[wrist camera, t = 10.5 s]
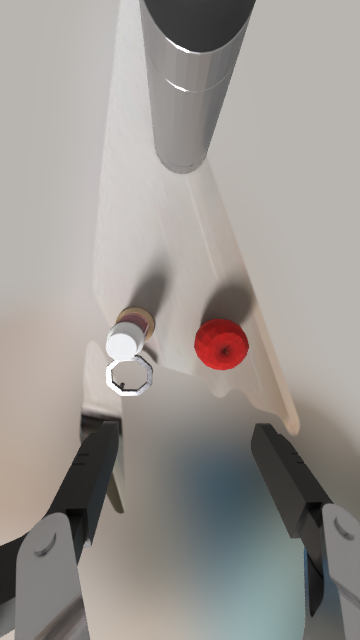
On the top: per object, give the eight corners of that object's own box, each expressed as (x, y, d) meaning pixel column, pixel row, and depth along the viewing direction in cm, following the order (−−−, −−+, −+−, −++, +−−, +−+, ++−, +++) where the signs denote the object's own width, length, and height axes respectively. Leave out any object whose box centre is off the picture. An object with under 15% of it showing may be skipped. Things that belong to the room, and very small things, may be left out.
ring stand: (109, 350, 38) (105, 355, 36) (153, 351, 39) (152, 356, 37) (111, 388, 41) (107, 395, 38) (152, 388, 41) (151, 395, 39)
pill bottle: (115, 315, 36) (93, 333, 25) (144, 308, 36) (134, 323, 25) (125, 342, 37) (108, 370, 27) (152, 335, 37) (146, 360, 27)
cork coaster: (115, 306, 36) (115, 307, 35) (154, 308, 36) (154, 308, 36) (117, 342, 38) (116, 343, 37) (153, 343, 38) (153, 344, 38)
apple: (182, 340, 39) (187, 365, 28) (204, 303, 37) (219, 315, 26) (218, 358, 40) (235, 388, 30) (241, 324, 39) (268, 344, 28)
